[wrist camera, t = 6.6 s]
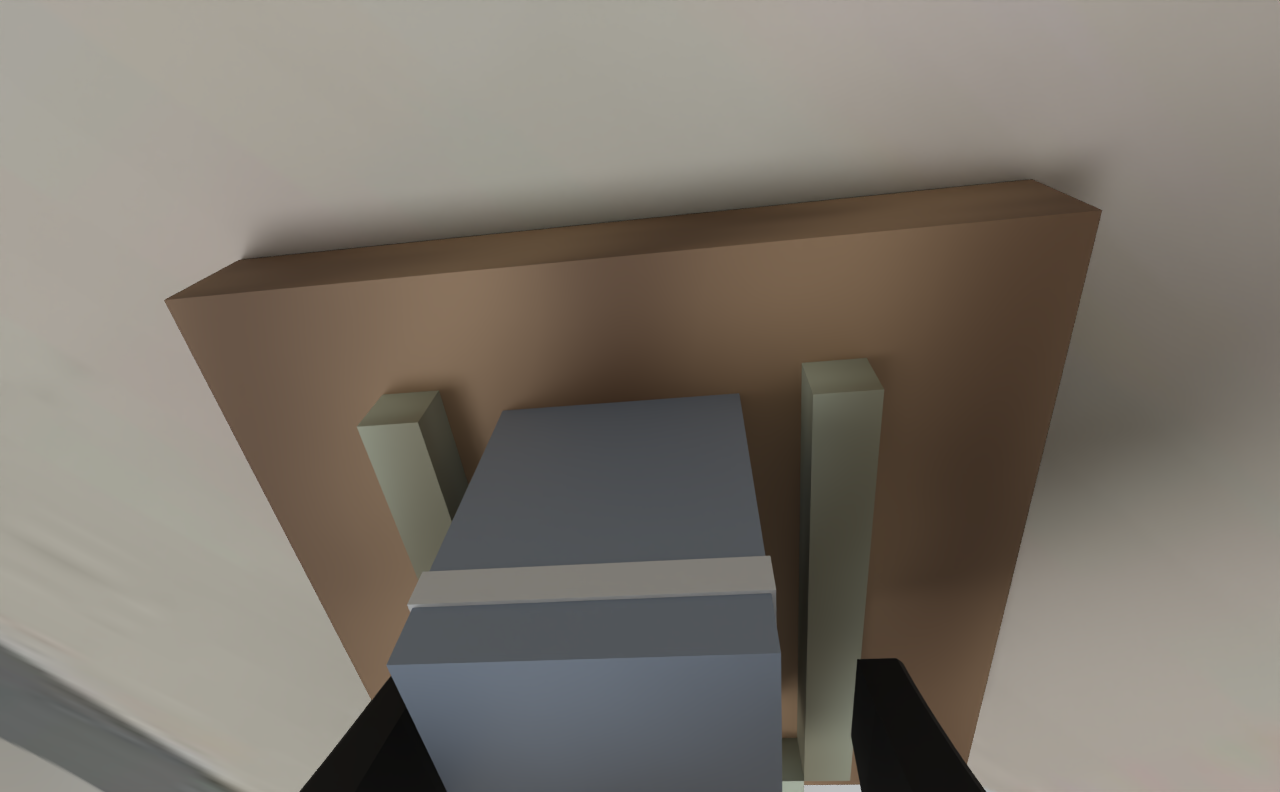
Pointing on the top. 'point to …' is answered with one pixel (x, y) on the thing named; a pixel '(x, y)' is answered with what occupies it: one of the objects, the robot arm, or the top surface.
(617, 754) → the blue-grey lidded box
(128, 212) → the top surface
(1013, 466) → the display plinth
